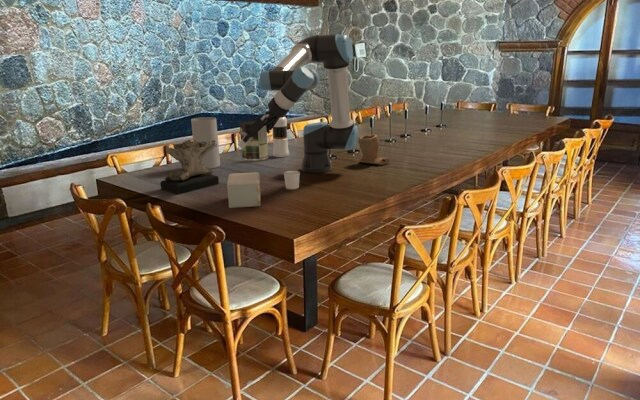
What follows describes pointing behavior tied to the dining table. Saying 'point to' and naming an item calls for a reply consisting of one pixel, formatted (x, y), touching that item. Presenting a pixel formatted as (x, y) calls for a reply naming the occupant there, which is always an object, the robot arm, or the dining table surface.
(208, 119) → the cylinder vase
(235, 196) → the cabinet
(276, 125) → the vodka
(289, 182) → the shot glass
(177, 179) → the coral
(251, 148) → the coffee can
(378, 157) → the stone cup
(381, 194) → the dining table surface
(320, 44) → the robot arm
